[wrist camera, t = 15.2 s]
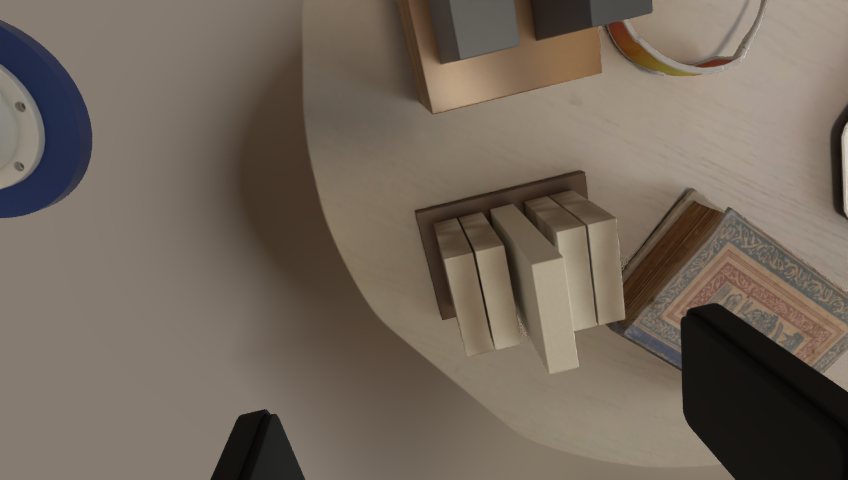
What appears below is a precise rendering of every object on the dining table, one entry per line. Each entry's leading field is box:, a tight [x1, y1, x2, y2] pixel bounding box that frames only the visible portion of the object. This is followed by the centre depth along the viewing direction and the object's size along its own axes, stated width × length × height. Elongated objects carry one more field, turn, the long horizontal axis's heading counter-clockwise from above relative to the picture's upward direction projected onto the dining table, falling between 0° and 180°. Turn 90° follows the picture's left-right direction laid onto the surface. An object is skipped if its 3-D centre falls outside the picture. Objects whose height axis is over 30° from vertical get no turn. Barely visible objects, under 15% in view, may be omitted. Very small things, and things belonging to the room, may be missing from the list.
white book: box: [490, 204, 579, 374], centre depth 42 cm, size 2×10×15 cm, turn 13°
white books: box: [415, 171, 625, 357], centre depth 45 cm, size 18×13×11 cm
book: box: [606, 189, 848, 374], centre depth 51 cm, size 17×7×25 cm
